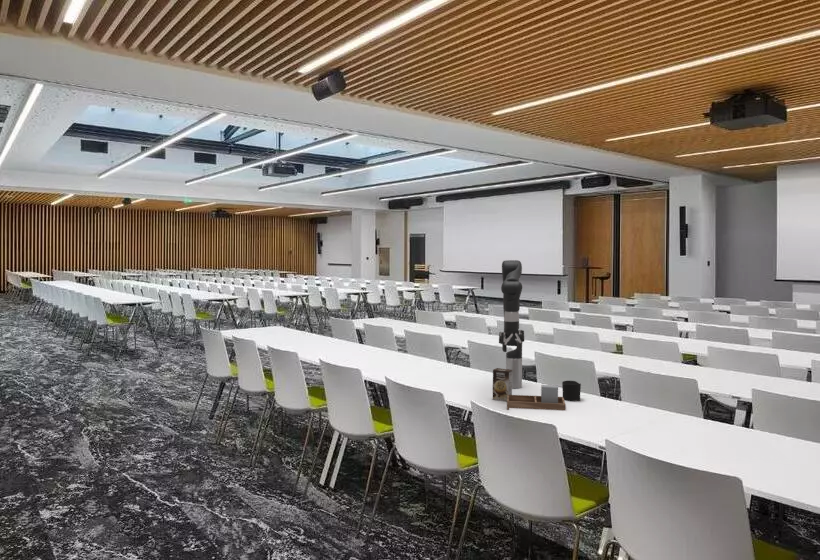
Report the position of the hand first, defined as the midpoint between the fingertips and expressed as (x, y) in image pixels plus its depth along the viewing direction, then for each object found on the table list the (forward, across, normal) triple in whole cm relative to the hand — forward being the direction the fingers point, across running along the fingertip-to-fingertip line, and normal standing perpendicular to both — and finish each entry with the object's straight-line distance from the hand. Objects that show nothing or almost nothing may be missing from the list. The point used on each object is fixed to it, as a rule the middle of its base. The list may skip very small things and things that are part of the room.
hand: (511, 351), depth 301 cm
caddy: (+28, -7, +11) cm, 30 cm away
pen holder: (+28, -31, +10) cm, 43 cm away
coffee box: (+28, -1, -10) cm, 30 cm away
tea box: (+27, -13, +15) cm, 33 cm away
